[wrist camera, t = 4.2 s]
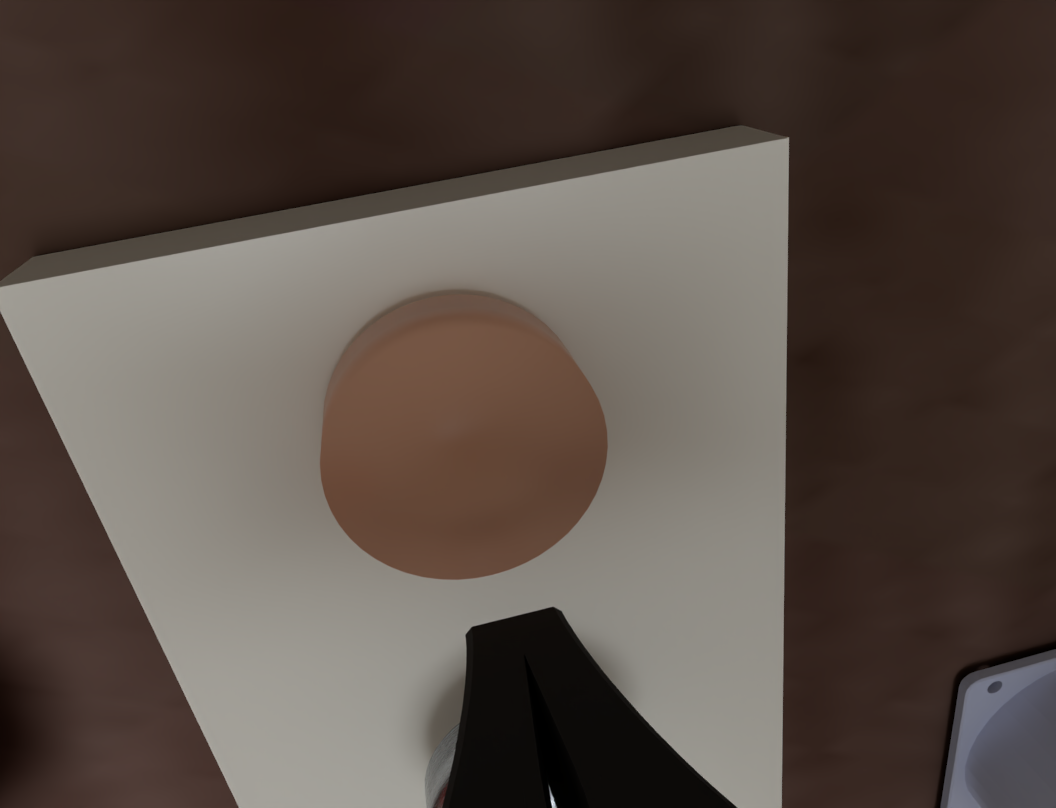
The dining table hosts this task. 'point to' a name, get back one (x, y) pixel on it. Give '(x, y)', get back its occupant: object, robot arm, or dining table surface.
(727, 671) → the control panel
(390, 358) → the terracotta button
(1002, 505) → the dining table surface
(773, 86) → the dining table surface
